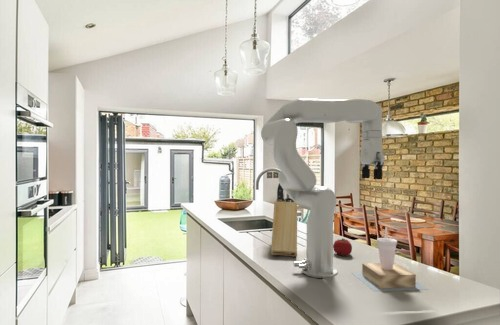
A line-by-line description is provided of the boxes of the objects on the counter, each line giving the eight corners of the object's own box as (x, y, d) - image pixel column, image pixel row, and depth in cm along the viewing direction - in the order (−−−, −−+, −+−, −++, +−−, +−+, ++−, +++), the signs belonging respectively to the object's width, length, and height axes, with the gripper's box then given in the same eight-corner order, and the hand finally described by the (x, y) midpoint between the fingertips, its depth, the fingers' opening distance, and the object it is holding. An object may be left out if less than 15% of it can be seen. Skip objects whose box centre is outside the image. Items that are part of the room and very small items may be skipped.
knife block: (296, 239, 164) (297, 181, 164) (297, 259, 129) (298, 185, 129) (275, 238, 165) (275, 181, 166) (270, 257, 130) (271, 184, 131)
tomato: (351, 258, 131) (352, 241, 132) (332, 256, 134) (332, 239, 134) (352, 253, 139) (352, 237, 139) (333, 251, 142) (333, 235, 142)
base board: (374, 292, 95) (374, 291, 95) (351, 274, 111) (351, 273, 111) (428, 291, 97) (428, 289, 97) (398, 273, 113) (398, 271, 113)
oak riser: (380, 288, 97) (380, 275, 97) (362, 274, 109) (362, 263, 109) (415, 287, 99) (415, 274, 99) (394, 273, 111) (394, 262, 111)
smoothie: (391, 265, 108) (391, 225, 108) (401, 271, 101) (401, 229, 101) (373, 265, 107) (373, 225, 108) (381, 271, 101) (382, 228, 101)
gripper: (353, 137, 132) (353, 177, 132) (373, 133, 115) (373, 179, 115) (370, 138, 133) (369, 177, 133) (392, 134, 116) (392, 179, 115)
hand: (371, 178), depth 124 cm, fingers open, 9 cm apart
